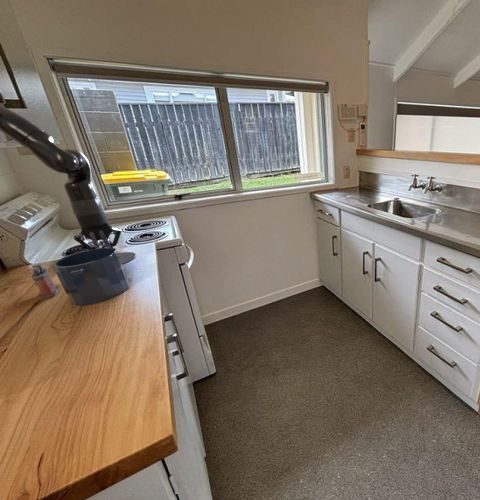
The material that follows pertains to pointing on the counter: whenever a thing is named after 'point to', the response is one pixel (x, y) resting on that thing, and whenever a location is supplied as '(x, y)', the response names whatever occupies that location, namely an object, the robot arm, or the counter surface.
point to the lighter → (44, 282)
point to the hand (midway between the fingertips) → (108, 258)
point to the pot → (92, 276)
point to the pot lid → (126, 257)
